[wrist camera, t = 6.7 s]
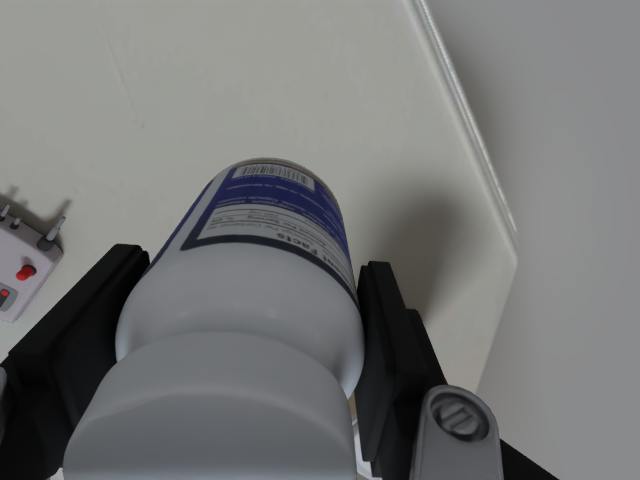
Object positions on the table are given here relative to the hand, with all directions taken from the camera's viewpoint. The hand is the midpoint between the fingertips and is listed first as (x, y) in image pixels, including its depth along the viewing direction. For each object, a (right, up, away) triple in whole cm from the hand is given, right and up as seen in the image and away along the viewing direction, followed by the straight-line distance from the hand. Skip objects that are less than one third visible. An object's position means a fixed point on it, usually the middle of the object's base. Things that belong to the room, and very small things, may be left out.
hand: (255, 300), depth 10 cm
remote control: (-25, 0, +22) cm, 33 cm away
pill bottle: (0, +2, +5) cm, 5 cm away
